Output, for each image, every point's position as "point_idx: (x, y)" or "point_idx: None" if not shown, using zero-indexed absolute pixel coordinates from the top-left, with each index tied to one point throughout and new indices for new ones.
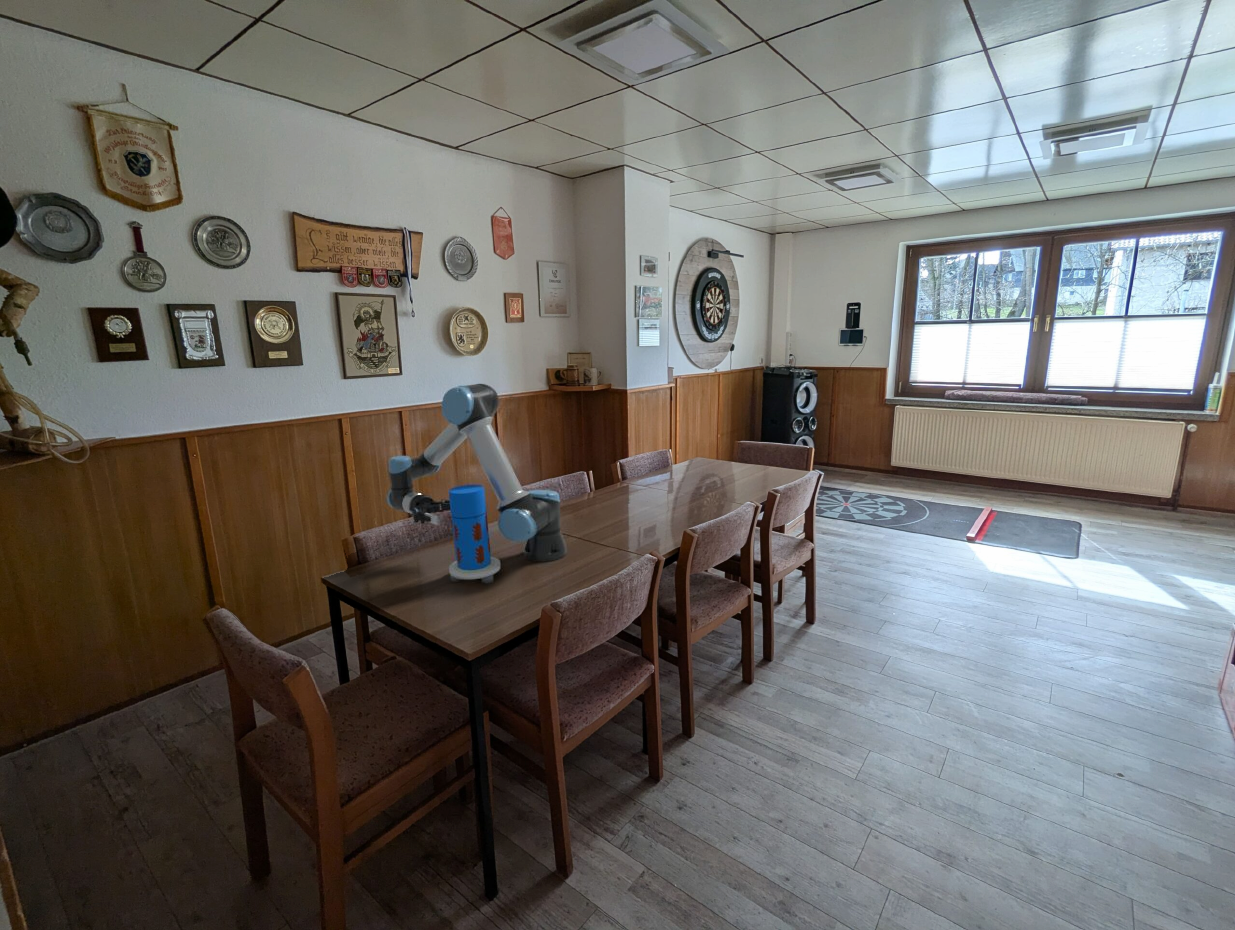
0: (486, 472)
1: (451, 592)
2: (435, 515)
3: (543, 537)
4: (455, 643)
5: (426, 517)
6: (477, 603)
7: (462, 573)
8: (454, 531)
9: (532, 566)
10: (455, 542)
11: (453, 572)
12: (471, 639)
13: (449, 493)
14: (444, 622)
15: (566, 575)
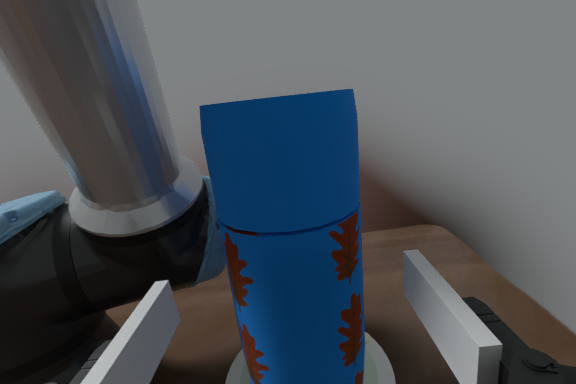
0: (143, 58)
1: (417, 360)
2: (417, 266)
3: (105, 311)
4: (451, 236)
5: (484, 304)
6: (382, 291)
7: (370, 345)
8: (361, 257)
9: (178, 353)
10: (362, 299)
11: (391, 368)
12: (428, 235)
13: (351, 98)
14: (459, 273)
15: (199, 287)
